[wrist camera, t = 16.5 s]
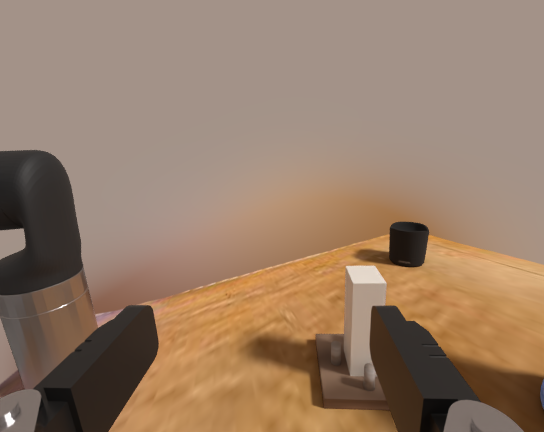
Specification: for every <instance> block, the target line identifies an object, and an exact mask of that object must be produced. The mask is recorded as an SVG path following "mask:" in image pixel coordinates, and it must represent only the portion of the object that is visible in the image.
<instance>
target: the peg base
mask: <svg viewBox="0 0 544 432" xmlns="http://www.w3.org/2000/svg"><path fill="white" fill-rule="evenodd" d="M316 348H317V356H318V364H319V372H320V380H321V388H322V395H323V403H324V408H336V409H371V410H390V409H389V406H388V403H387V401H386V398H385V395H384V393H383V390H382V387H381V385H380V382H379V379H378V377H375V375H376V371H375V369H374V366H373V364H370V363H367V364H365V365H364V376H350V373H349V369H348V365H347V361H346V357H345V353H344V334H316Z"/></svg>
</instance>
